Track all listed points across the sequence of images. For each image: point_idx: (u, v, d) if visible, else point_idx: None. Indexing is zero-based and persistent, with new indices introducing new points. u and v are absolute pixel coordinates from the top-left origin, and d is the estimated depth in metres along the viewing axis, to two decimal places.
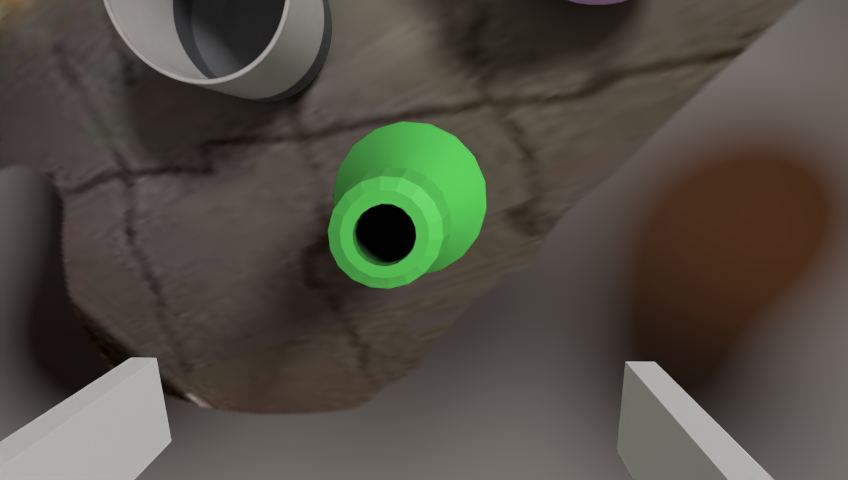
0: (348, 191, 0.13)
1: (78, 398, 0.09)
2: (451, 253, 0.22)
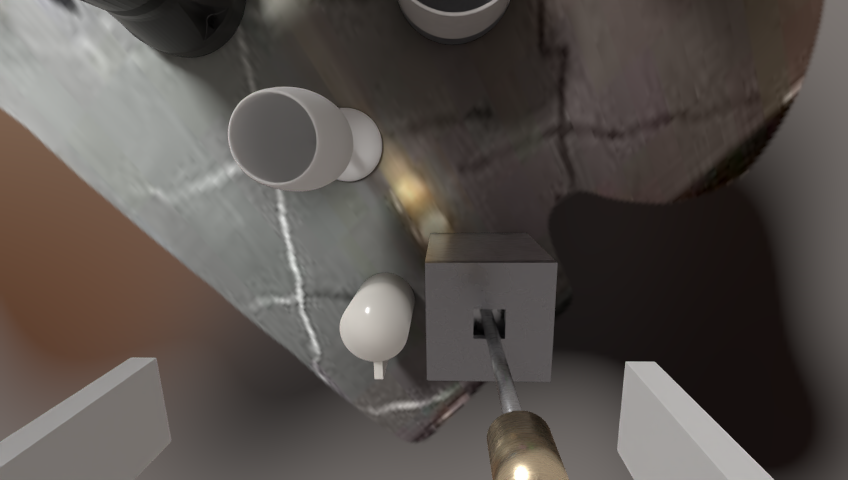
0: None
1: (78, 398, 0.09)
2: None
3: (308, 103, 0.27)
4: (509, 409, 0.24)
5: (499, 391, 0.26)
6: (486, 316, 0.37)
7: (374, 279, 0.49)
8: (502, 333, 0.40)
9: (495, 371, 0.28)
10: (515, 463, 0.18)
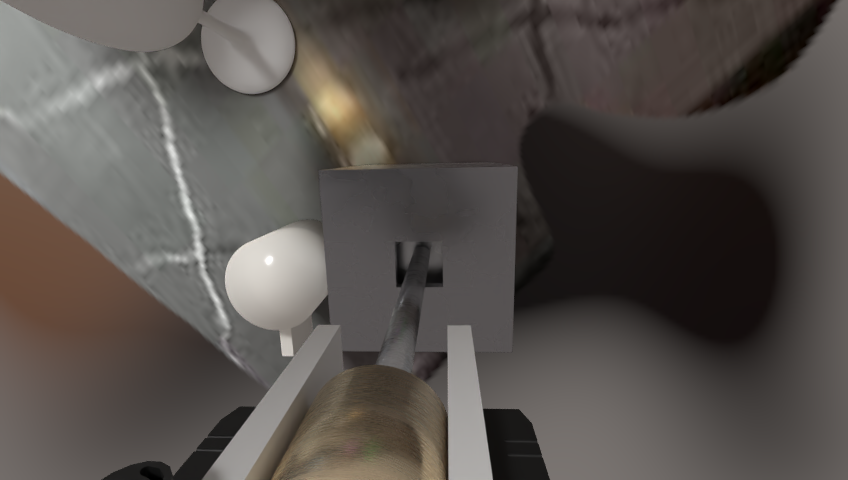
0: None
1: (305, 353, 0.11)
2: None
3: None
4: None
5: None
6: (415, 254, 0.25)
7: (288, 225, 0.36)
8: None
9: (392, 315, 0.16)
10: None
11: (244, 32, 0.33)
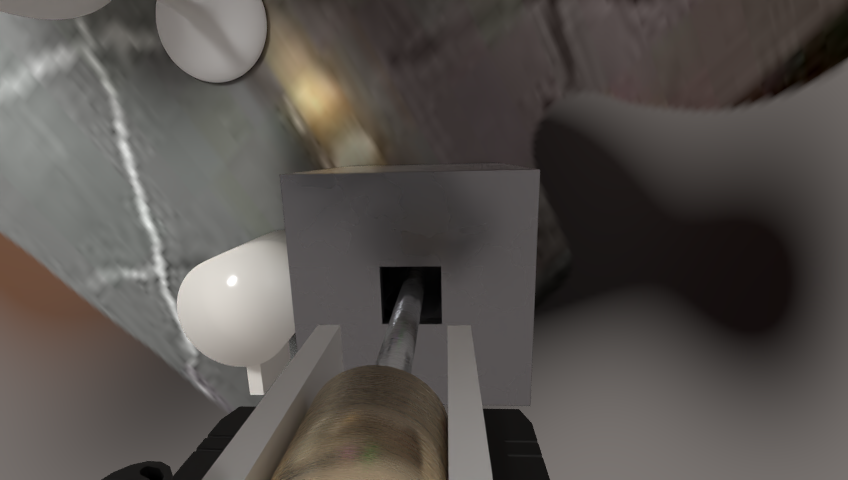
0: None
1: (305, 353, 0.11)
2: None
3: None
4: None
5: (382, 343, 0.14)
6: None
7: (260, 237, 0.31)
8: None
9: (391, 315, 0.16)
10: None
11: (204, 8, 0.28)
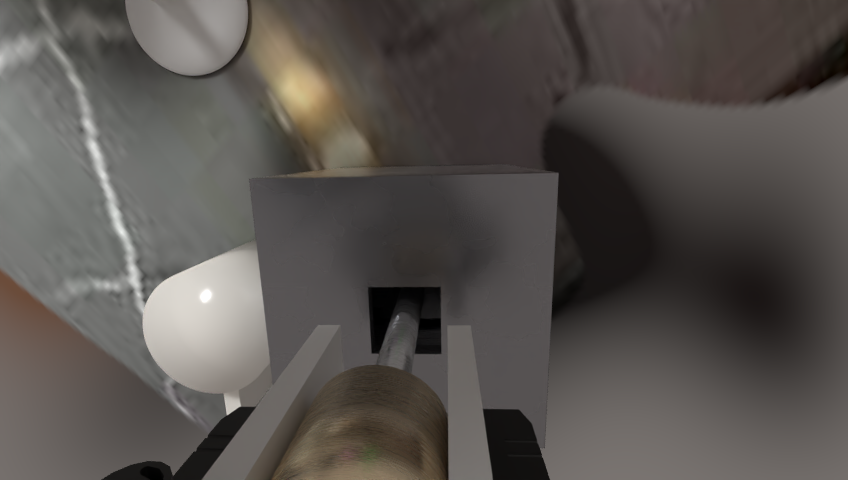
0: None
1: (305, 353, 0.11)
2: None
3: None
4: None
5: None
6: None
7: (241, 246, 0.28)
8: None
9: (392, 315, 0.16)
10: None
11: None
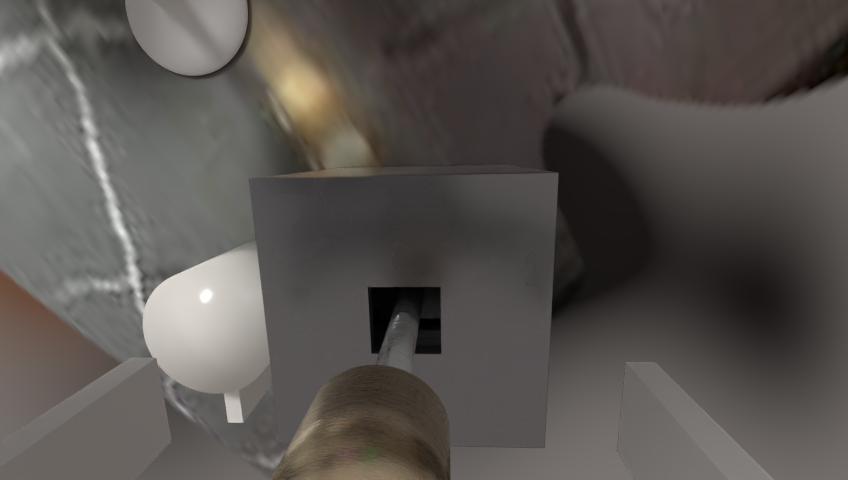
0: None
1: (78, 398, 0.09)
2: None
3: None
4: None
5: (382, 343, 0.14)
6: None
7: (241, 246, 0.28)
8: None
9: (392, 315, 0.16)
10: None
11: None
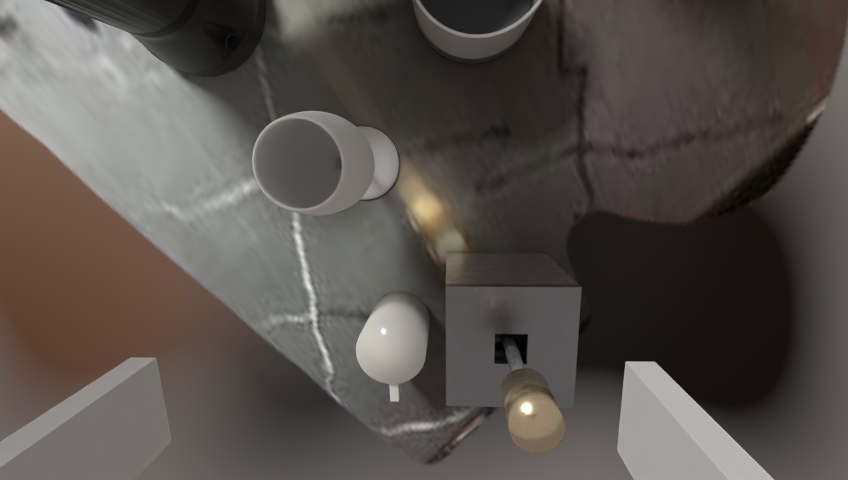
0: None
1: (78, 398, 0.09)
2: None
3: (334, 129, 0.27)
4: None
5: (509, 359, 0.34)
6: None
7: (390, 298, 0.48)
8: None
9: (505, 346, 0.36)
10: (521, 399, 0.26)
11: None
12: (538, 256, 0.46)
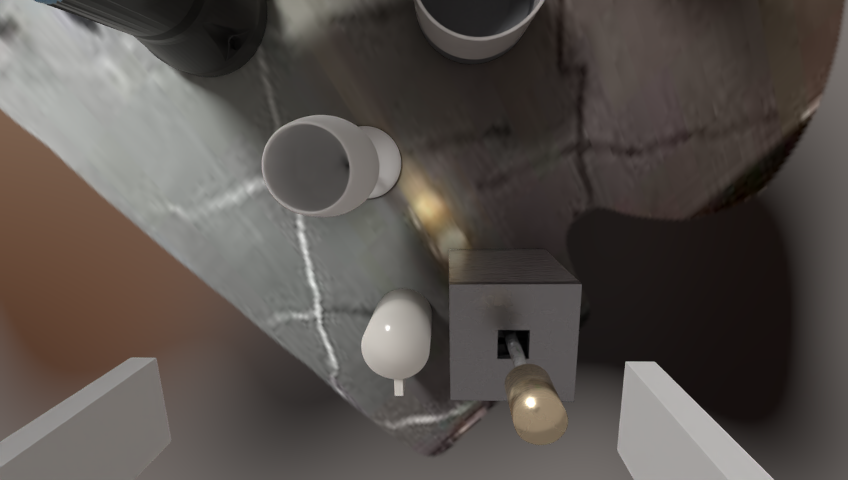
0: None
1: (78, 398, 0.09)
2: None
3: (341, 133, 0.27)
4: None
5: (511, 355, 0.35)
6: None
7: (393, 295, 0.49)
8: None
9: (508, 342, 0.37)
10: (526, 393, 0.27)
11: None
12: (538, 253, 0.47)
